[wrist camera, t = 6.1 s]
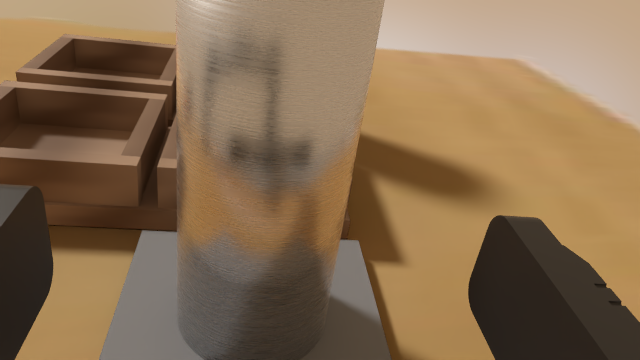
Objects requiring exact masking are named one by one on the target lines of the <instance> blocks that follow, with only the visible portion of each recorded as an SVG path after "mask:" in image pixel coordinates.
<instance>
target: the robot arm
mask: <svg viewBox="0 0 640 360" xmlns="http://www.w3.org/2000/svg"><path fill="white" fill-rule="evenodd" d="M52 276H53V257H52V250H51V244H50V237H49V231H48V224H47V217H46V211H45V204H44V198H43V194H42V192H41V190H40V189H39V188H38V187H37V186H25V185H9V184H0V360H15V358H16V356H17V354H18V352H19V350H20V348H21V346H22V344H23V342H24V340H25V339H26V337H27V335H28V333H29V331H30V329H31V327H32V325H33V323H34V321H35V319H36V317H37V315H38V313H39V312H40V310H41V308H42V306H43V304H44V302H45V300H46V298H47V296H48V293H49V290H50V287H51V282H52ZM468 295H469V303H470V307H471V310H472V313H473V315H474V317H475V319H476V321H477V323H478V325H479V327H480V329H481V331H482V333H483V335H484V337H485V339H486V341H487V343H488V345H489V348H490V350H491V352H492V354H493V356H494V358H495V360H640V322H639V321H638V320H637V319H636V318H635V317H634V315H633V314H632V313H631V312H630V311H629V310H628V308H627V307H626V306H622V305H621V300H620V299H619V298H618V297H617V296H616V294H615V293H614V292H613V291H612V290H611V289H610V288H607V287H606V283H605V282H604V281H603V279H602V278H601V277H600V276H599V275H598V274H597V272H596V271H595V270H594V269H593V268H592V267H591V265H590V264H589V263H588V262H586V261H585V260H583V259H582V258H581V257H579V256H578V255H576V254H575V253H574V252H572V251H571V250H569V249H568V248H567V247H565V246H564V245H561V243H560V242H559V241H558V240H557V239H556V237H555V236H554V235H553V234H552V233H551V231H550V230H549V229H548V228H547V226H546V225H545V224H544V223H543V222H542V221H541V220H540V219H538V218H534V217H517V216H501V215H500V216H496V217H494V218H493V219H492V221H491V222H490V224H489V227H488V229H487V232H486V235H485V238H484V241H483V243H482V246H481V249H480V252H479V255H478V258H477V260H476V263H475V266H474V269H473V272H472V274H471V277H470V281H469V289H468Z"/></svg>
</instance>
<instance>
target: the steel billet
mask: <svg viewBox="0 0 640 360" xmlns="http://www.w3.org/2000/svg"><path fill="white" fill-rule="evenodd" d="M383 5H384V0H176V118H177V320H178V327H179V330H180V333H181V335H182V337H183V339H184V341H185V342H186V343H187V345H188V346H189V347H190V348H191V349H192V350H193V351H194V352H195V353H196V354H197V355H199V356H200V357H201V358H203V359H205V360H300V359H301V358H303V357H304V356H305V355H307V354H308V353H309V352H310V351H311V350H312V349H313V348H314V347H315V345H316V344H317V343H318V341H319V339H320V337H321V335H322V333H323V329H324V325H325V320H326V314H327V309H328V303H329V298H330V293H331V287H332V282H333V276H334V271H335V265H336V260H337V255H338V249H339V244H340V238H341V233H342V228H343V222H344V217H345V211H346V206H347V201H348V195H349V190H350V184H351V179H352V174H353V168H354V163H355V157H356V152H357V147H358V141H359V136H360V130H361V125H362V119H363V114H364V109H365V103H366V98H367V92H368V87H369V82H370V76H371V71H372V65H373V60H374V55H375V49H376V44H377V38H378V33H379V27H380V22H381V17H382V11H383Z"/></svg>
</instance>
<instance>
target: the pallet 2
mask: <svg viewBox="0 0 640 360" xmlns="http://www.w3.org/2000/svg"><path fill="white" fill-rule="evenodd" d="M0 184H9V185H25V186H37V187H38V188H39V189H40V190H41V192H42V194H43V198H44V204H45V211H46V217H47V224H48V225H65V226H86V227H108V228H129V229H150V230H172V231H177V118H176V115H175V118H174V121H173V124H172V127H168V99H167V94H155V93H144V92H132V91H120V90H109V89H97V88H86V87H74V86H62V85H51V84H39V83H27V82H16V81H4V82H2V83H1V84H0ZM351 185H352V179H351V184H350V190H351ZM350 190H349V195H348V201H349V196H350ZM348 201H347V206H348ZM347 206H346V211H345V217H344V222H343V228H342V233H341V238H343V239H347V235H348V230H349V225H350V218H349V214H348V210H347Z"/></svg>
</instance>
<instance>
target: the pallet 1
mask: <svg viewBox="0 0 640 360" xmlns="http://www.w3.org/2000/svg"><path fill="white" fill-rule="evenodd" d="M16 77H17V82H27V83H39V84H51V85H62V86H74V87H86V88H97V89H109V90H120V91H132V92H144V93H155V94H167V99H168V127H172V124H173V121H174V118H175V115H176V45H169V44H159V43H150V42H140V41H130V40H120V39H110V38H100V37H90V36H80V35H70V34H64V35H63V36H61V37H60V38H59V39H58V40H56V41H55V42H54V43H52V44H51V45H50V46H49V47H47V48H46V49H45V50H43V51H42V52H41V53H40V54H38V55H37V56H36V57H34V58H33V59H32V60H31V61H29V62H28V63H27V64H25V65H24V66H23V67H22V68H20V69H19V70H18V71H16Z"/></svg>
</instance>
